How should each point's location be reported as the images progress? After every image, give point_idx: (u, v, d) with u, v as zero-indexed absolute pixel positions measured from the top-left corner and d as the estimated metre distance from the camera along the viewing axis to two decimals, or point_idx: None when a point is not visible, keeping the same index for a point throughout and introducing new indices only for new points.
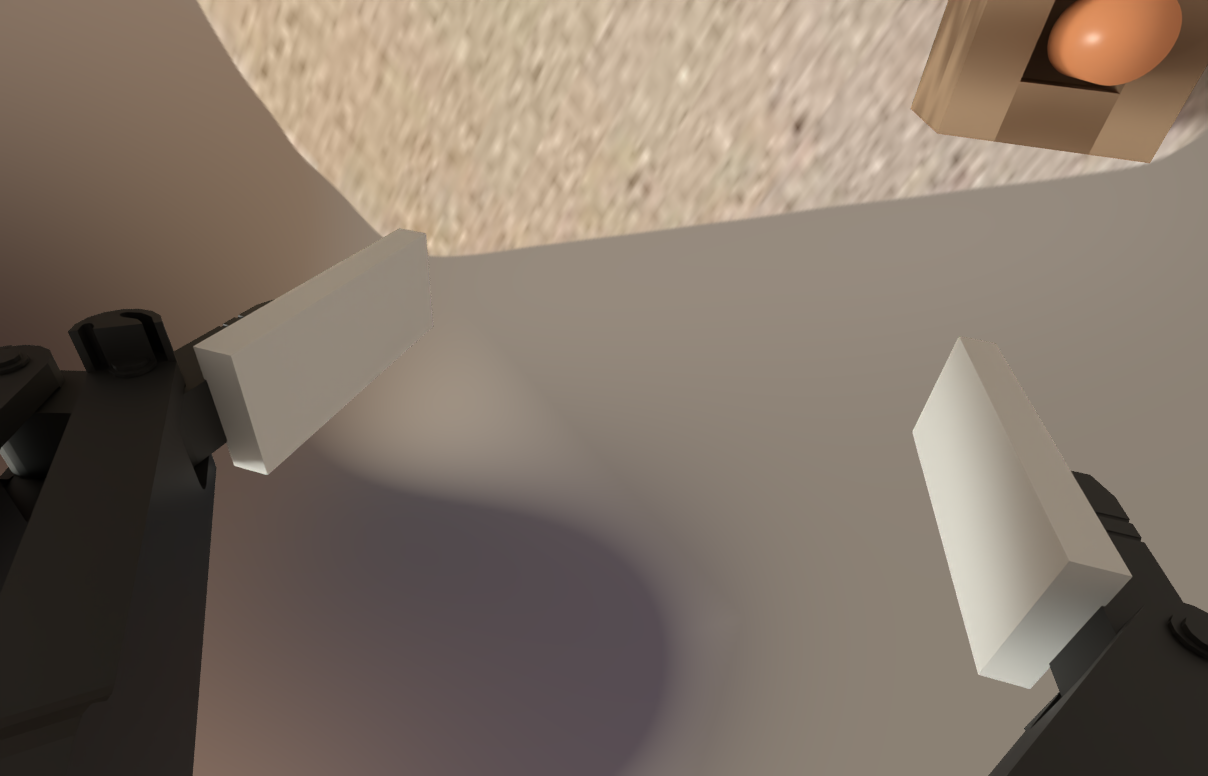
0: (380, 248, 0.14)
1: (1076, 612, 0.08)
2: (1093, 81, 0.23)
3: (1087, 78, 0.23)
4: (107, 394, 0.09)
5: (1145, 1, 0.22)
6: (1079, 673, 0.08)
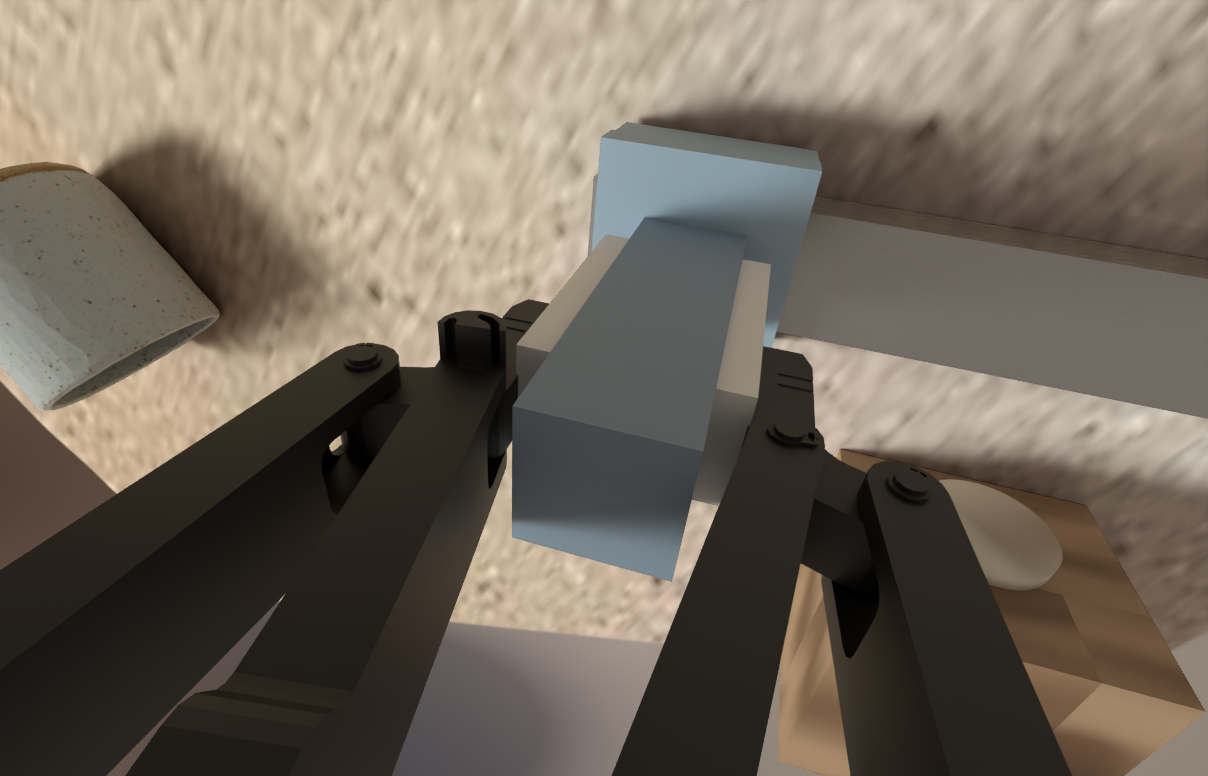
0: (604, 253, 0.15)
1: (734, 433, 0.11)
2: None
3: None
4: (447, 384, 0.10)
5: None
6: None
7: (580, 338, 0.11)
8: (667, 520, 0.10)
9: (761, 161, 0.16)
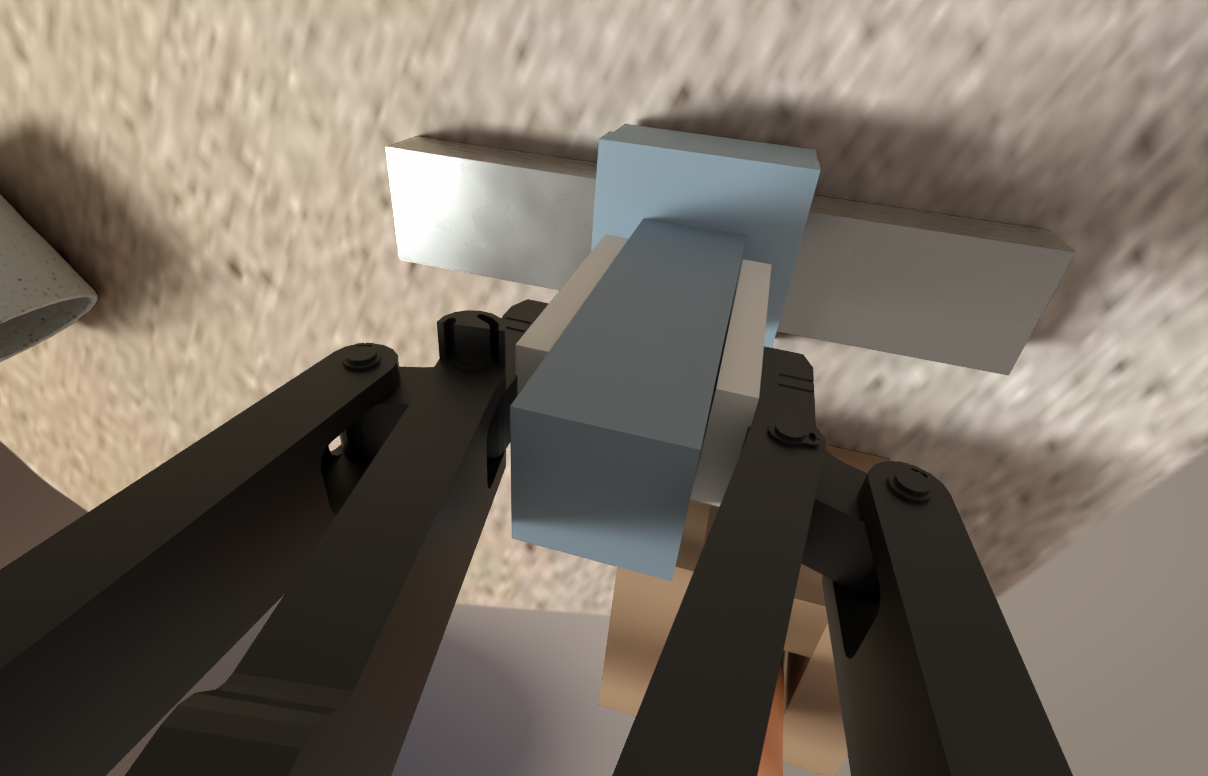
0: (604, 253, 0.15)
1: (734, 434, 0.11)
2: None
3: None
4: (446, 384, 0.10)
5: None
6: None
7: (578, 338, 0.11)
8: (667, 519, 0.10)
9: (759, 161, 0.16)
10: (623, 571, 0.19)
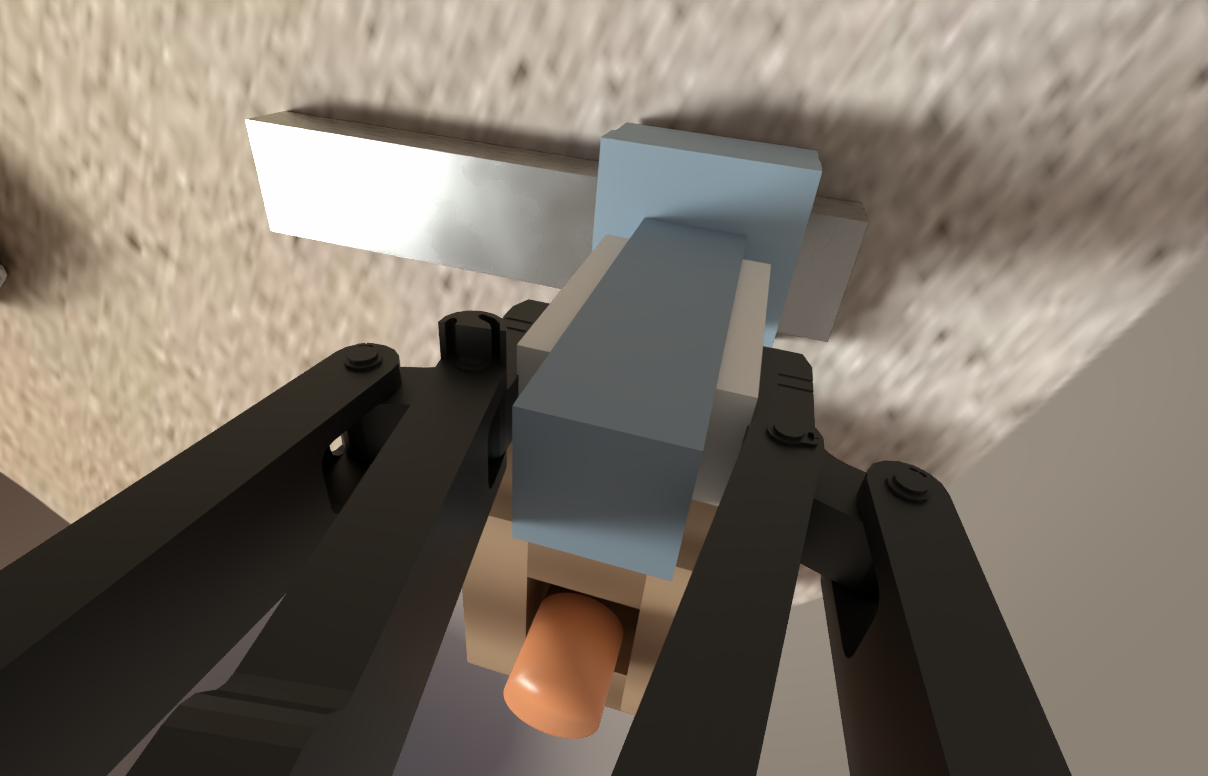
0: (604, 253, 0.15)
1: (733, 433, 0.11)
2: None
3: None
4: (447, 384, 0.10)
5: (551, 689, 0.18)
6: None
7: (580, 338, 0.11)
8: (667, 520, 0.10)
9: (761, 161, 0.16)
10: None
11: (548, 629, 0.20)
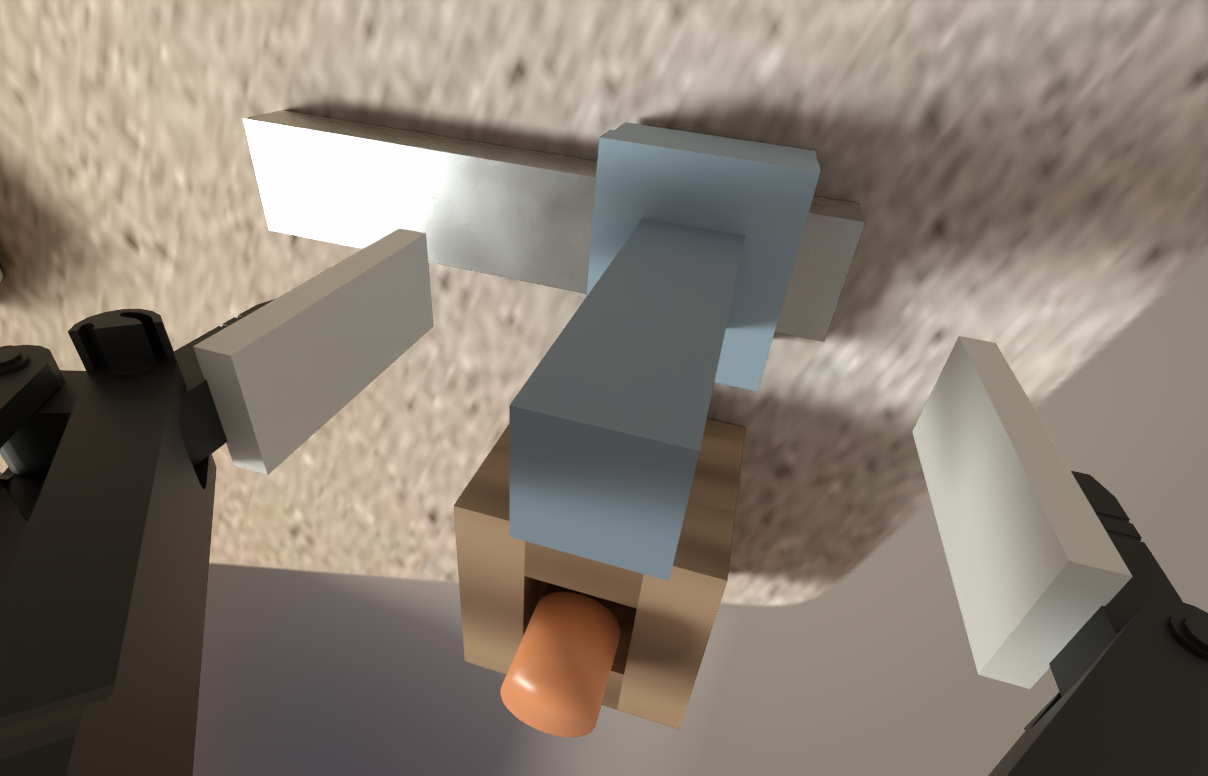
0: (381, 248, 0.14)
1: (1076, 612, 0.08)
2: (534, 727, 0.20)
3: (527, 724, 0.20)
4: (107, 394, 0.09)
5: (548, 687, 0.18)
6: (1079, 673, 0.08)
7: (577, 338, 0.11)
8: (665, 519, 0.10)
9: (759, 161, 0.16)
10: (460, 525, 0.20)
11: (545, 628, 0.20)
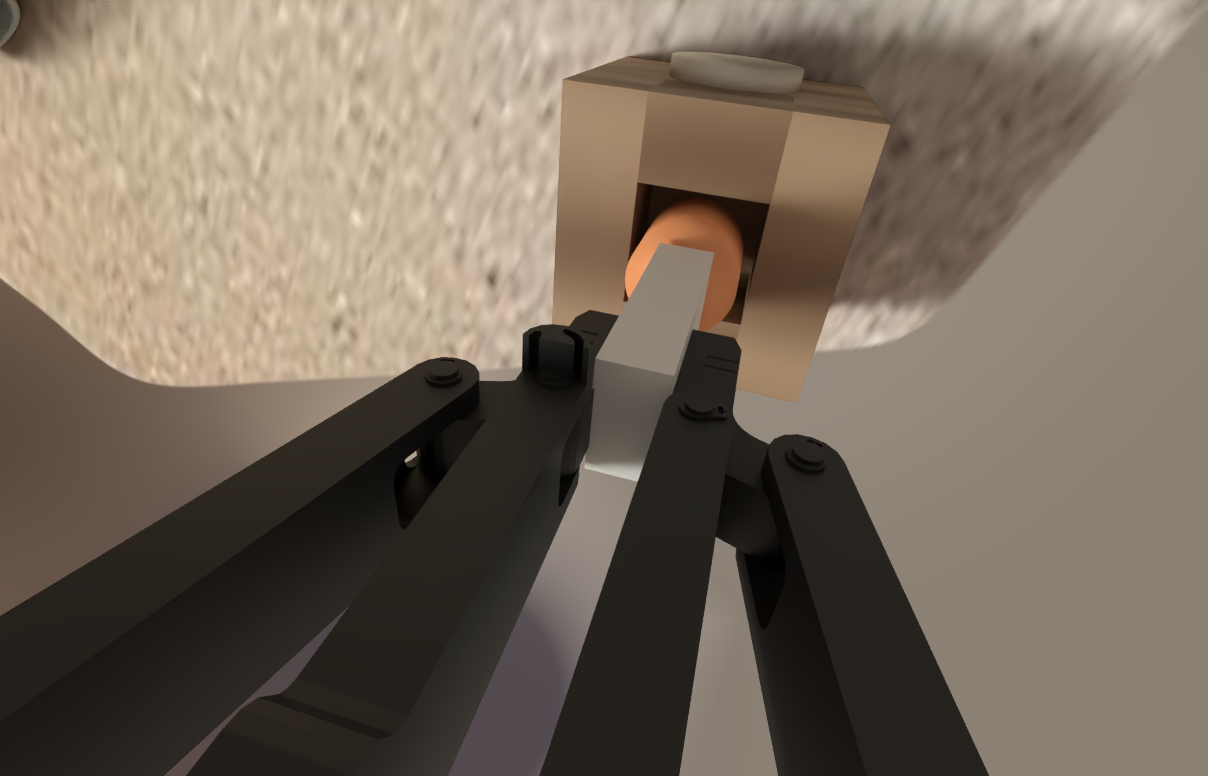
0: (663, 262, 0.15)
1: (654, 411, 0.11)
2: None
3: None
4: (526, 397, 0.10)
5: (686, 246, 0.16)
6: None
7: None
8: None
9: None
10: (568, 112, 0.17)
11: (672, 214, 0.18)
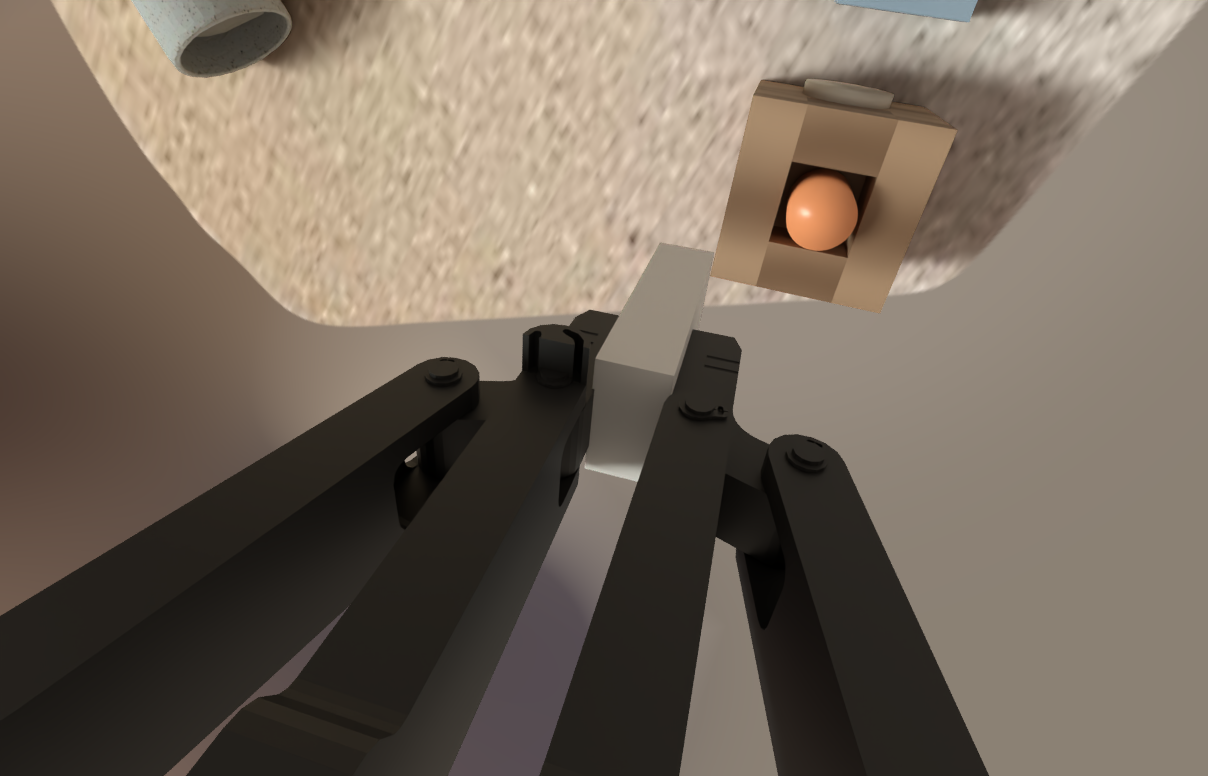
0: (663, 262, 0.15)
1: (654, 411, 0.11)
2: (803, 246, 0.29)
3: (798, 244, 0.29)
4: (526, 397, 0.10)
5: (829, 193, 0.28)
6: None
7: None
8: None
9: None
10: (753, 115, 0.28)
11: (814, 176, 0.29)
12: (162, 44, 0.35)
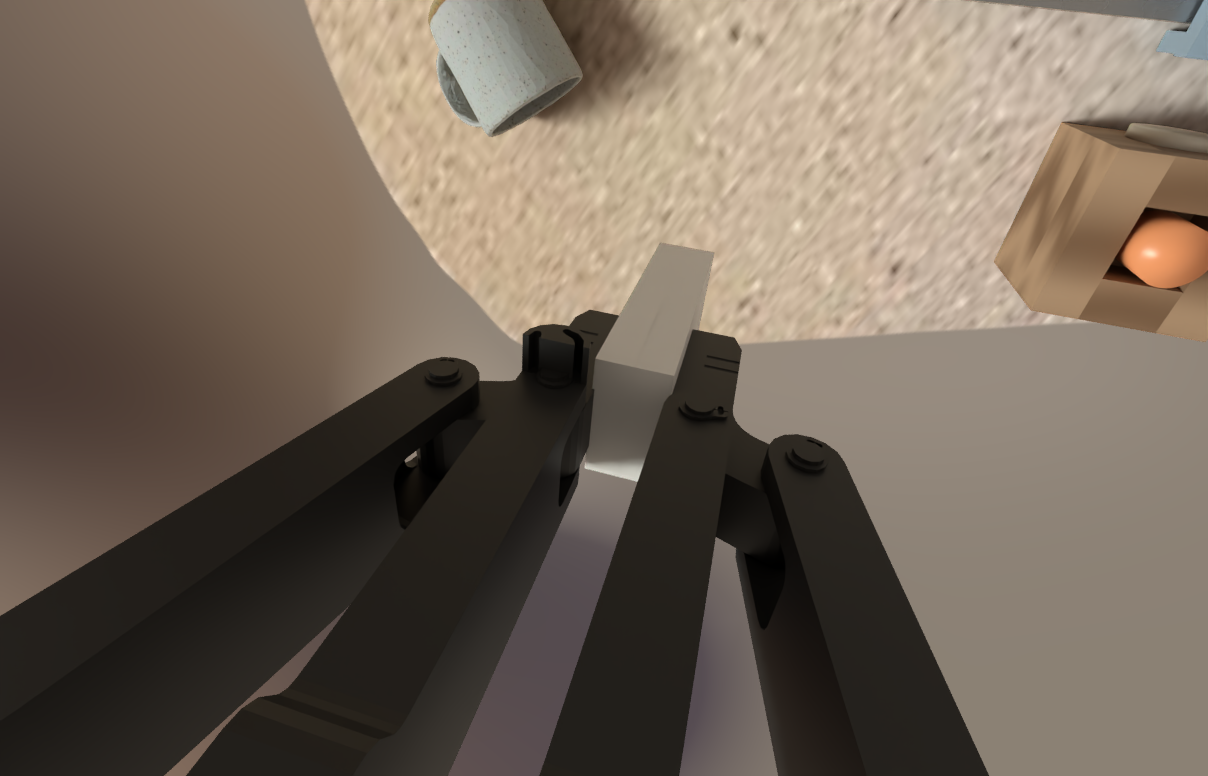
0: (663, 262, 0.15)
1: (654, 411, 0.11)
2: (1150, 284, 0.31)
3: (1146, 282, 0.31)
4: (526, 397, 0.10)
5: (1191, 237, 0.30)
6: None
7: None
8: None
9: None
10: (1114, 166, 0.30)
11: (1162, 219, 0.31)
12: (485, 111, 0.38)
